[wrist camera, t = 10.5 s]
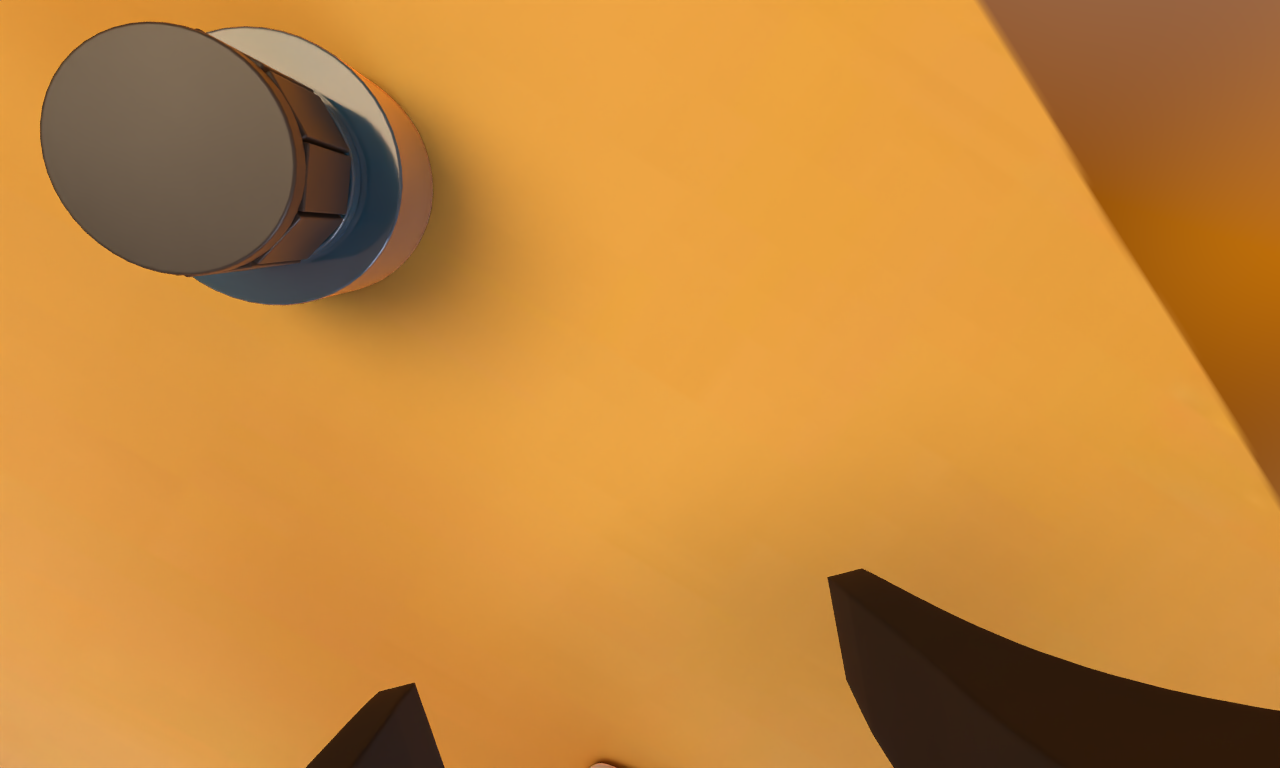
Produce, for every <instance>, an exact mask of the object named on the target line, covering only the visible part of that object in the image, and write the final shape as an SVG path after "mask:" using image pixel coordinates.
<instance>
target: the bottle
mask: <svg viewBox="0 0 1280 768" xmlns="http://www.w3.org/2000/svg"><path fill="white" fill-rule="evenodd" d="M206 33H207V34H209V35H211V36H213V37H215V38H217V39H219V40H220V41H222V42H224V43H226V44H228V45H230V46H232V47H234V48H236V49H237V50H239V51H241V52H243V53H245V54H247V55H249V56H251V57H253V58H254V59H256V60H258V61H260V62H262V63H264V64H266V65H268V66H269V67H271V68H273V69H275V70H277V71H279V72H281V73H282V74H284V75H286V76H288V77H290V78H292V79H294V80H296V81H297V82H299V83H301V84H303V85H305V86H307V87H309V88H310V89H312V90H313V91H314V94H316V95H318V96H319V97H320V98H321V100H322V102H323V103H324V105H325V107H326V109H327V110H328V112H329V114H330V116H331V118H332V119H333V121H334V123H335V125H336V126H337V128H338V130H339V132H340V133H341V135H342V137H343V139H344V141H345V142H346V144H347V146H348V148H349V152H347V153H345V154H344V155H347V156H350V157H351V169H350V181H349V192H348V204H347V213H346V214H345V215H342V214H339V215H340V216H341V217H342V218H343V222H342V223H341V224H340V225H339V226H338V227H337V228H336V229H335V230H334V231H333V232H332V233H331V235H330V236H329V237H328V238H327V239H326V240H325V241H324V242H323V243H322V244H321V245H320V246H319V247H318V248H317V249H316V250H315V251H314V252H313V253H312V255H311V256H310V257H309V258H308V259H304V260H301V262H300V263H294V264H287V265H280V266H273V267H267V268H260V269H253V270H246V271H237V272H228V273H219V274H211V275H202V276H193V278H195V279H196V280H198V281H199V282H201V283H203V284H204V285H206V286H208V287H210V288H212V289H214V290H215V291H218V292H220V293H223V294H225V295H228V296H230V297H233V298H236V299H240V300H243V301H247V302H251V303H258V304H265V305H293V304H302V303H307V302H311V301H315V300H319V299H323V298H327V297H331V296H335V295H338V294H342V293H346V292H350V291H354V290H358V289H362V288H364V287H367V286H370V285H372V284H375V283H377V282H378V281H380V280H382V279H384V278H386V277H387V276H389V275H390V274H391V273H393V272H394V271H395V270H397V269H398V268H399V267H400V266H401V265H402V264H403V263H404V262H405V261H406V260H407V259H408V258H409V257H410V255H411V254H412V253H413V251H414V250H415V249H416V247H417V245H418V244H419V242H420V240H421V238H422V236H423V234H424V232H425V229H426V226H427V224H428V221H429V217H430V212H431V208H432V198H433V180H432V173H431V166H430V162H429V158H428V155H427V151H426V148H425V146H424V144H423V141H422V139H421V137H420V134H419V133H418V131H417V129H416V128H415V126H414V124H413V122H412V121H411V119H410V118H409V117H408V116H407V114H406V113H405V112H404V110H403V109H402V108H401V107H400V106H399V105H398V104H397V103H396V102H395V100H394V99H393V98H392V97H391V96H389V95H388V94H387V93H386V92H384V91H383V90H382V89H381V88H380V87H378V86H377V85H376V84H374V83H373V82H371V81H370V80H369V79H367V78H366V77H364V76H363V75H362V74H360V73H359V72H357V71H356V70H355V69H353V68H352V67H350V66H349V65H348V64H346V63H345V62H343V61H342V60H341V59H339V58H338V57H336V56H335V55H333V54H332V53H330V52H329V51H327V50H325V49H324V48H322V47H321V46H319V45H317V44H315V43H313V42H311V41H308V40H306V39H304V38H302V37H299V36H296V35H293V34H290V33H287V32H284V31H280V30H275V29H270V28H264V27H248V26H242V27H230V28H223V29H219V30H214V31H210V32H206Z"/></svg>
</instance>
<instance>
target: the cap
mask: <svg viewBox="0 0 1280 768" xmlns="http://www.w3.org/2000/svg"><path fill="white" fill-rule="evenodd" d="M40 140H41V147H42V154H43V159H44V162H45V166H46V169H47V173H48V175H49V178H50V180H51V182H52V185H53V187H54V189H55V191H56V193H57V195H58V197H59V198H60V200H61V202H62V204H63V205H64V207H65V208H66V209H67V211H68V212H69V213H70V215H71V216H72V218H73V219H74V220H75V221H76V222H77V223H78V224H79V225H80V226H81V228H82V229H83V230H84V231H85V232H86V233H87V234H89V235H90V236H91V237H92V238H93V239H94V240H95V241H97V242H98V243H99V244H101V245H102V246H103V247H105V248H106V249H108V250H109V251H111V252H112V253H113V254H115V255H117V256H119V257H121V258H123V259H125V260H126V261H128V262H131V263H133V264H136V265H138V266H141V267H143V268H146V269H150V270H153V271H157V272H161V273H167V274H174V275H185V276H186V277H193V276H202V275H211V274H219V273H228V272H237V271H246V270H253V269H260V268H267V267H273V266H280V265H287V264H294V263H300V262H301V260H304V259H308V258H309V257H310V256H311V255H312V253H313V252H314V251H315V250H316V249H317V248H318V247H319V246H320V245H321V244H322V243H323V242H324V241H325V240H326V239H327V238H328V237H329V236H330V235H331V233H332V232H333V231H334V230H335V229H336V228H337V227H338V226H339V225H340V224H341V223H342V222H343V218H342V217H341V216H340V215H339V214H342V215H345V214H346V213H347V204H348V192H349V181H350V169H351V157H350V156H347V155H344V154H345V153H347V152H349V148H348V146H347V144H346V142H345V141H344V139H343V137H342V135H341V133H340V132H339V130H338V128H337V126H336V125H335V123H334V121H333V119H332V118H331V116H330V114H329V112H328V110H327V109H326V107H325V105H324V103H323V102H322V100H321V98H320V97H319V96H318V95H316V94H314V91H313V90H312V89H310V88H309V87H307V86H305V85H303V84H301V83H299V82H297V81H296V80H294V79H292V78H290V77H288V76H286V75H284V74H282V73H281V72H279V71H277V70H275V69H273V68H271V67H269V66H268V65H266V64H264V63H262V62H260V61H258V60H256V59H254V58H253V57H251V56H249V55H247V54H245V53H243V52H241V51H239V50H237V49H236V48H234V47H232V46H230V45H228V44H226V43H224V42H222V41H220V40H219V39H217V38H215V37H213V36H211V35H209V34H207V33H205V32H203V31H202V30H200V29H192V28H189V27H186V26H182V25H177V24H171V23H166V22H137V23H129V24H125V25H121V26H116V27H113V28H111V29H108V30H105V31H103V32H100V33H98V34H96V35H95V36H93V37H91V38H89V39H88V40H86V41H84V42H83V43H82V44H81V45H80V46H78V47H77V48H76V49H75V50H73V51H72V52H71V53H70V55H69V56H68V57H67V58H66V59H65V60H64V61H63V62H62V64H61V65H60V67H59V68H58V70H57V71H56V73H55V74H54V76H53V78H52V80H51V82H50V85H49V87H48V89H47V91H46V95H45V99H44V102H43V106H42V113H41V121H40Z"/></svg>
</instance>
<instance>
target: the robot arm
mask: <svg viewBox="0 0 1280 768" xmlns="http://www.w3.org/2000/svg"><path fill="white" fill-rule="evenodd" d="M828 582H829V588H830V593H831V599H832V604H833V610H834V615H835V621H836V626H837V631H838V637H839V642H840V648H841V653H842V659H843V664H844V670H845V675H846V680H847V682H848V684H849V686H850V688H851V690H852V693H853V695H854V697H855V699H856V701H857V703H858V705H859V707H860V710H861V712H862V714H863V716H864V718H865V720H866V722H867V724H868V726H869V728H870V730H871V732H872V734H873V735H874V737H875V739H876V740H877V742H878V743H879V745H880V747H881V748H882V750H883V751H884V753H885V755H886V756H887V758H888V759H889V761H890V762H891V764H892V766H893V767H894V768H1280V711H1277V710H1271V709H1265V708H1259V707H1253V706H1248V705H1243V704H1237V703H1232V702H1227V701H1221V700H1216V699H1211V698H1205V697H1200V696H1196V695H1191V694H1187V693H1182V692H1178V691H1173V690H1169V689H1164V688H1160V687H1156V686H1153V685H1149V684H1145V683H1141V682H1137V681H1133V680H1130V679H1126V678H1122V677H1118V676H1114V675H1111V674H1107V673H1104V672H1100V671H1097V670H1094V669H1090V668H1087V667H1084V666H1081V665H1078V664H1075V663H1072V662H1069V661H1066V660H1063V659H1060V658H1057V657H1054V656H1051V655H1048V654H1045V653H1042V652H1039V651H1037V650H1034V649H1031V648H1029V647H1026V646H1024V645H1021V644H1018V643H1016V642H1013V641H1011V640H1009V639H1006V638H1004V637H1002V636H999V635H997V634H994V633H992V632H990V631H987V630H985V629H983V628H980V627H978V626H976V625H974V624H971V623H969V622H967V621H965V620H963V619H960V618H958V617H956V616H954V615H952V614H950V613H948V612H946V611H944V610H942V609H940V608H938V607H936V606H934V605H932V604H930V603H928V602H926V601H924V600H922V599H920V598H918V597H916V596H914V595H912V594H910V593H908V592H907V591H905V590H903V589H901V588H899V587H897V586H895V585H893V584H891V583H889V582H888V581H886V580H884V579H882V578H880V577H878V576H876V575H874V574H872V573H870V572H868V571H866V570H864V569H858V570H854V571H850V572H846V573H843V574H839V575H835V576H831V577H828ZM306 768H444V765H443V762H442V759H441V756H440V754H439V751H438V748H437V745H436V742H435V739H434V737H433V734H432V731H431V728H430V725H429V722H428V720H427V717H426V714H425V711H424V708H423V705H422V703H421V700H420V697H419V694H418V691H417V688H416V685H415V683H411V684H407V685H403V686H399V687H396V688H392V689H388V690H384V691H380V692H378V693H377V694H376V695H375V696H374V697H373V698H372V699H371V700H369V701H368V702H367V703H366V704H365V705H364V706H363V707H362V708H361V709H360V710H359V711H358V713H357V714H356V715H355V716H354V717H353V718H352V719H351V720H350V721H349V722H348V723H347V724H346V725H345V726H344V727H343V728H342V729H341V730H340V732H339V733H338V734H337V735H336V736H335V737H334V738H333V739H332V740H331V741H330V742H329V743H328V744H327V746H326V747H325V748H324V749H323V750H322V751H321V752H320V753H319V754H318V755H317V756H316V757H315V758H314V759H313V760H312V761H311V762H310V764H309V765H308V766H307V767H306ZM590 768H616V767H614V766H611V765H608V764H604V763H598V764H595V765H593V766H591V767H590Z"/></svg>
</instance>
